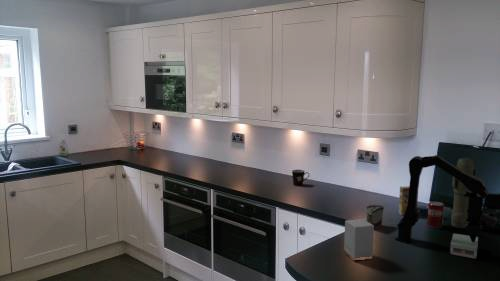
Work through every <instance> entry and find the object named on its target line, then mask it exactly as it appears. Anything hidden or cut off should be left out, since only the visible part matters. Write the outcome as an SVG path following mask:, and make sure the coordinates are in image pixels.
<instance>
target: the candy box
mask: <svg viewBox="0 0 500 281" xmlns="http://www.w3.org/2000/svg"><path fill="white" fill-rule="evenodd" d="M408 194H409V186H399V201H398V214H400V215H401V216H404V213H405V211H406V208H407V203H408ZM418 198H419V196H418V197H417V203H418Z"/></svg>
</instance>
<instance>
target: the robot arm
mask: <svg viewBox="0 0 500 281" xmlns="http://www.w3.org/2000/svg"><path fill="white" fill-rule="evenodd" d="M433 166H434V167H435V166H436V167H438V168H439V169H440V170H442V171H443V172H445V173H447V174H449V175H450V176H452V178H453V177H455V178H456V179H458V180H459V181H461V182H462V183H463V185H464V186H465V187H466V188H468V189H469V190H470V191H471V192H469V191H468V190H467V191H466V192H465V193H464V194H463V196H464V197H468V207H467V222H469V223H467V224H465V228H464V232H467V234H468V236H470V239H471V241H472V242H475V239H476V237H478V234H483V233H482V232H483V225H482V224H486V225H488V226H489V227H492V228H495V226H496V224H497V222H498V218H497V216H495V212H492V211H490V212H487V213H486V212H484V209H483V207H485V208H487V209H488V210H498V211H499V210H500V193H493V192H489V191H488V189H487V188H486V187H485V185H484V184H485V182H484V181H483V179H482V178H480V177H478V176H477V175H476V176H474V175H471V174H468V173H465V172H464V171H462V170H460V169H459V168H457V165H454V164H452V163H451V162H449V161H447V160H446V159H444V158H442V156H440V155H438V154H437V155H436V154H435V155H432V156H431V155H429V156H420V155H416V156H413V157H412V158H411V159H410V160H409V162H408V171H409V176H410V178H409V185H408V187H409V194H408V203H407V208H406V211H405V213H404V215H403V217H402V218H401V219H400V220H399V221H398V223H397V228H398V231H397V232H398V233H397V237H395V238H394V240H396V241H399V242H401V243H404V244H409V243H411V242H413V241H415V238H412V230H413V227H414V226H415V225H416V224H417V223H418V222H419V220H420V213H421V210H420V209H418V202H417V197H418V198H419V187H420V179H421V178H420V177H421V175H422V172H423V169H425V168H428V167H433ZM472 192H473V193H472ZM483 202H484V203H483ZM483 205H484V206H483Z"/></svg>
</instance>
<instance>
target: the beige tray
mask: <svg viewBox="0 0 500 281" xmlns="http://www.w3.org/2000/svg"><path fill="white" fill-rule="evenodd" d="M477 247H478V245H477ZM449 249H450V250H449V254H450V255H453V256H454V255H455V256H459V257H463V258H464V257H465V258H469V259H470V258H471V259H475V260H476V259H477V254H478V250H477V251H471V250H465V249H458V248H452V247H451V246H450V248H449Z"/></svg>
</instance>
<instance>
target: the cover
mask: <svg viewBox="0 0 500 281" xmlns="http://www.w3.org/2000/svg"><path fill="white" fill-rule="evenodd" d="M478 244H479V237H478V236H476V239H475V242H472V241H471V239H470V236H469V235H466V234H459V233H453V234H452V238H451V241H450V248H451V247H452V248H458V249H465V250H471V251H477V252H478V246H477V245H478Z"/></svg>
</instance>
